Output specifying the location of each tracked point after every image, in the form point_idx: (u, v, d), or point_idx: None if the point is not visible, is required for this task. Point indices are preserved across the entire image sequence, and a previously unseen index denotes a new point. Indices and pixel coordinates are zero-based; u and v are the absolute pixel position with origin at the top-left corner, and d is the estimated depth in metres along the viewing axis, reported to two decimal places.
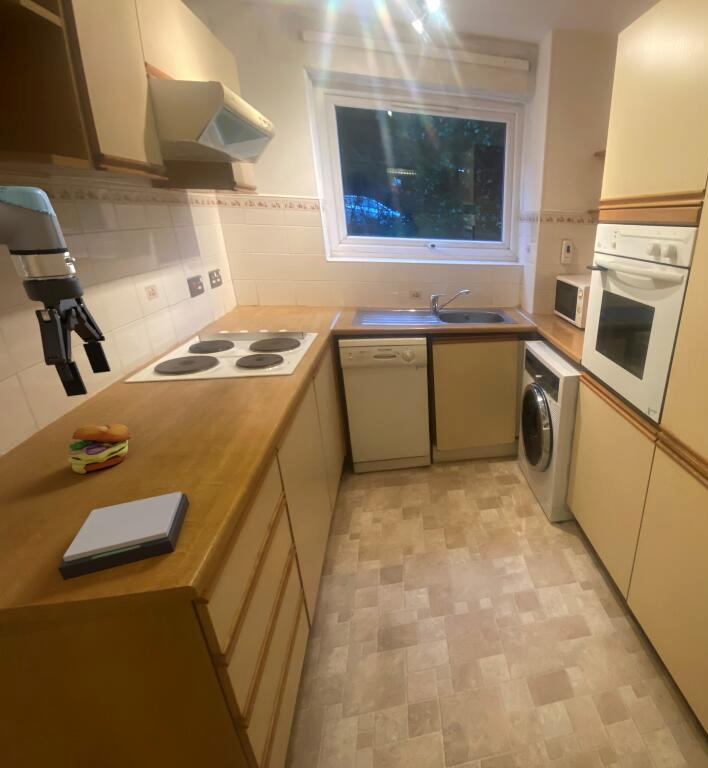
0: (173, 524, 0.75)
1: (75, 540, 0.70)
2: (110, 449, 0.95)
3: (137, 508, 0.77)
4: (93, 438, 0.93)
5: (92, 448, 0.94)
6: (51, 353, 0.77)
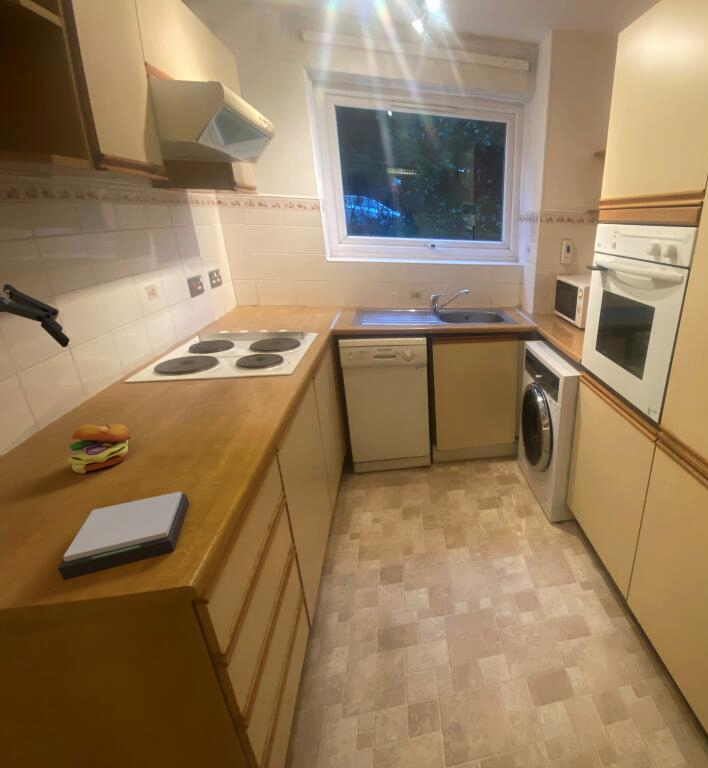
0: (173, 524, 0.75)
1: (75, 540, 0.70)
2: (110, 449, 0.95)
3: (137, 508, 0.77)
4: (93, 438, 0.93)
5: (92, 448, 0.94)
6: None
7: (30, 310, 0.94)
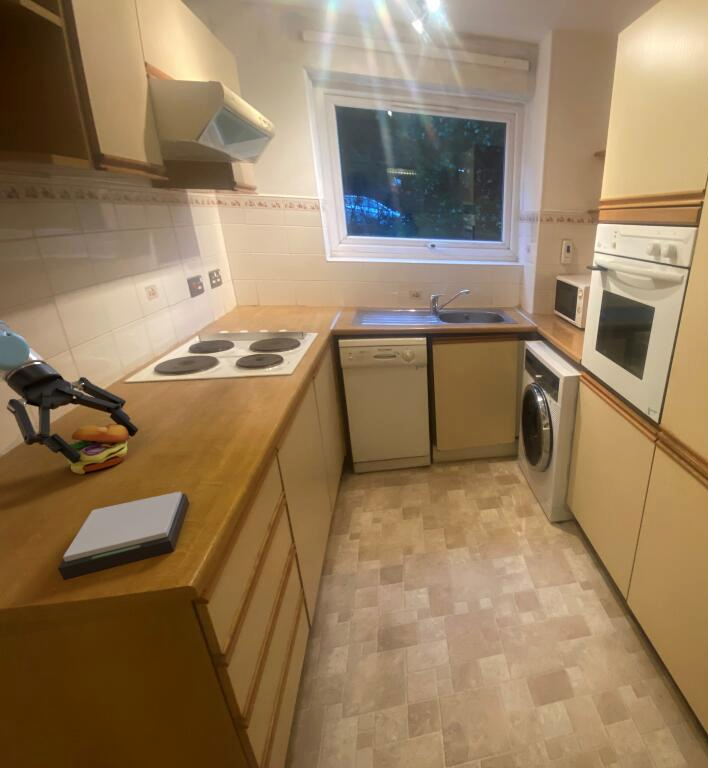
0: (173, 524, 0.75)
1: (75, 540, 0.70)
2: (109, 450, 0.94)
3: (137, 508, 0.77)
4: (92, 439, 0.92)
5: (91, 449, 0.94)
6: None
7: (102, 403, 0.98)
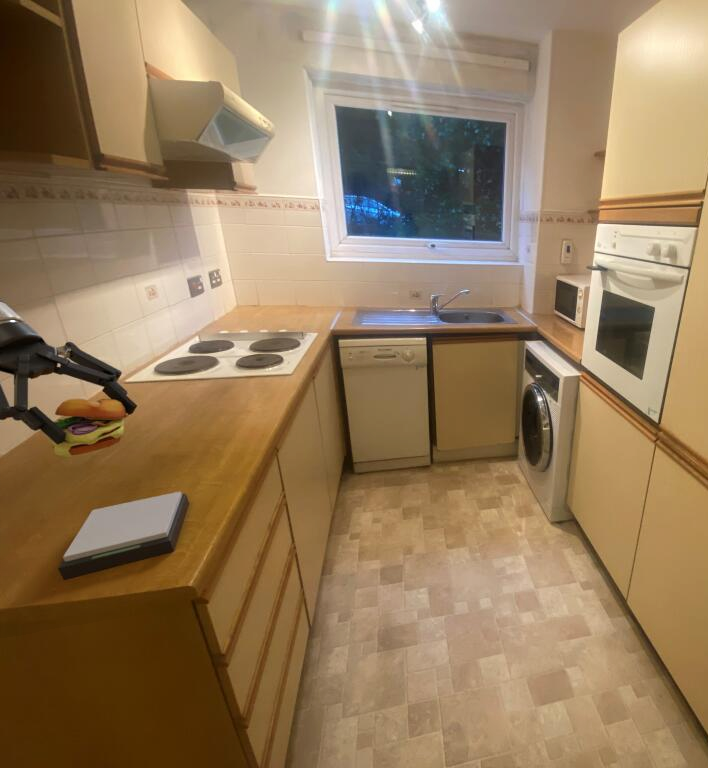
0: (173, 524, 0.75)
1: (75, 540, 0.70)
2: (102, 429, 0.77)
3: (137, 508, 0.77)
4: (81, 414, 0.75)
5: (80, 427, 0.76)
6: None
7: (93, 373, 0.81)
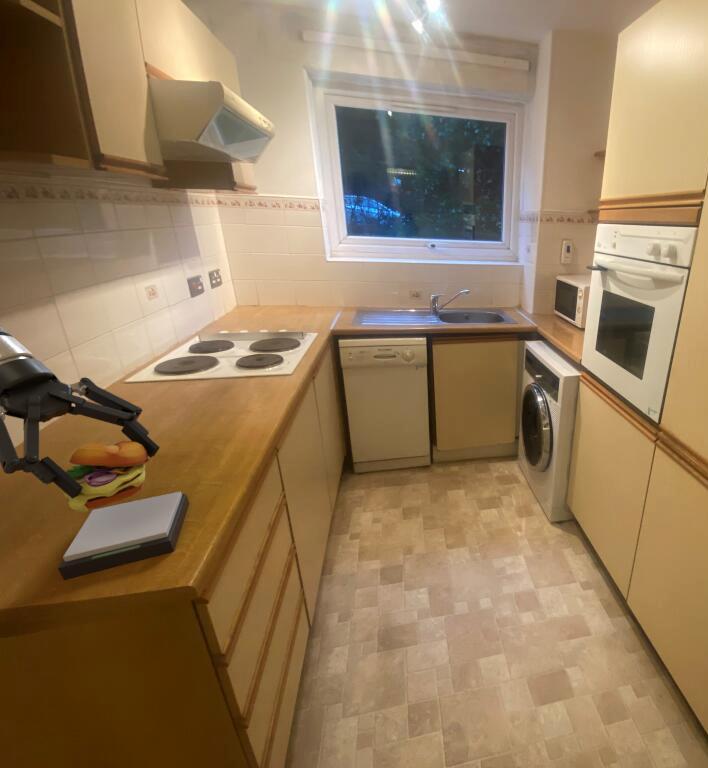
0: (173, 524, 0.75)
1: (75, 540, 0.70)
2: (121, 477, 0.69)
3: (137, 508, 0.77)
4: (98, 463, 0.66)
5: (97, 476, 0.68)
6: None
7: (111, 413, 0.73)
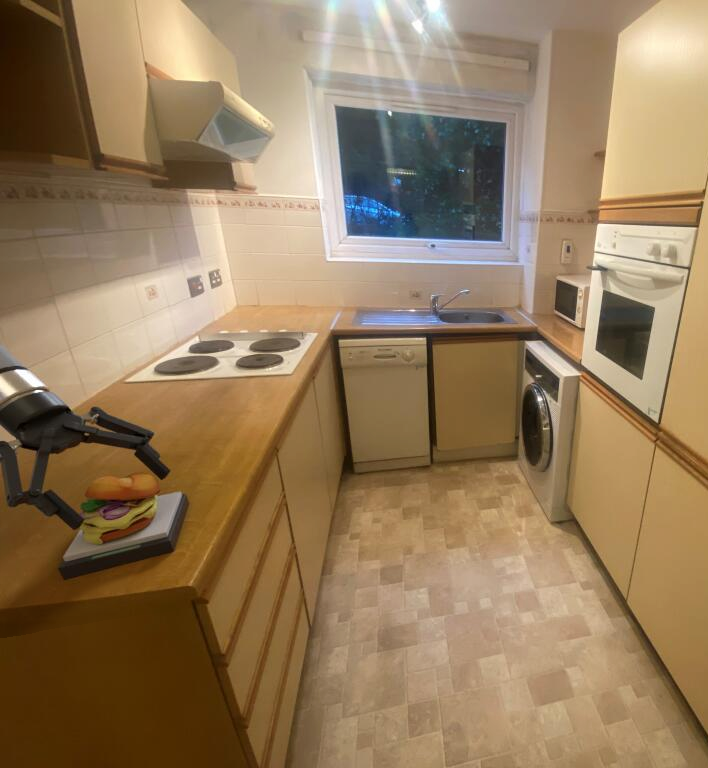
0: (173, 524, 0.75)
1: (75, 540, 0.70)
2: (135, 510, 0.71)
3: None
4: (112, 497, 0.69)
5: (111, 509, 0.70)
6: None
7: (124, 439, 0.75)
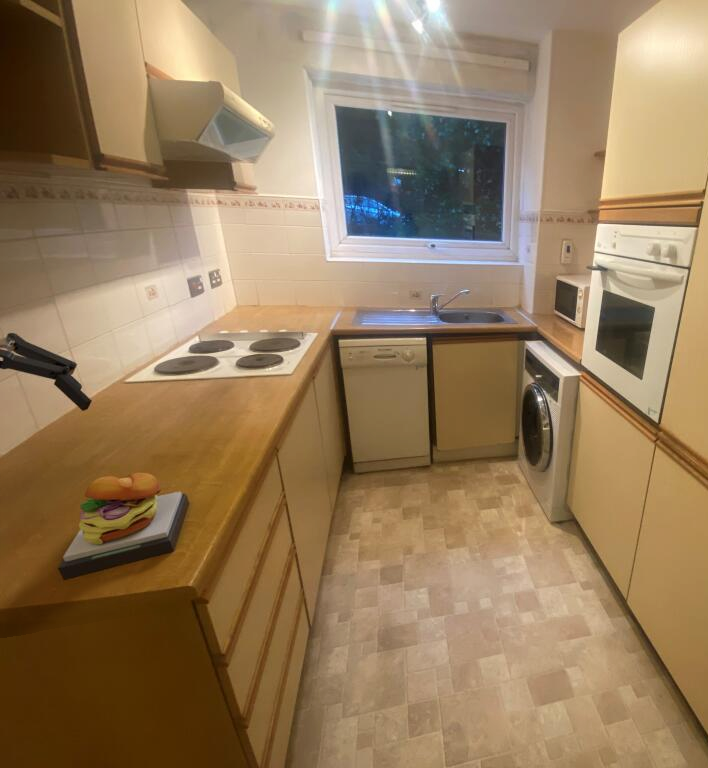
0: (173, 524, 0.75)
1: (75, 540, 0.70)
2: (135, 510, 0.71)
3: None
4: (112, 497, 0.69)
5: (111, 509, 0.70)
6: None
7: (42, 366, 0.74)
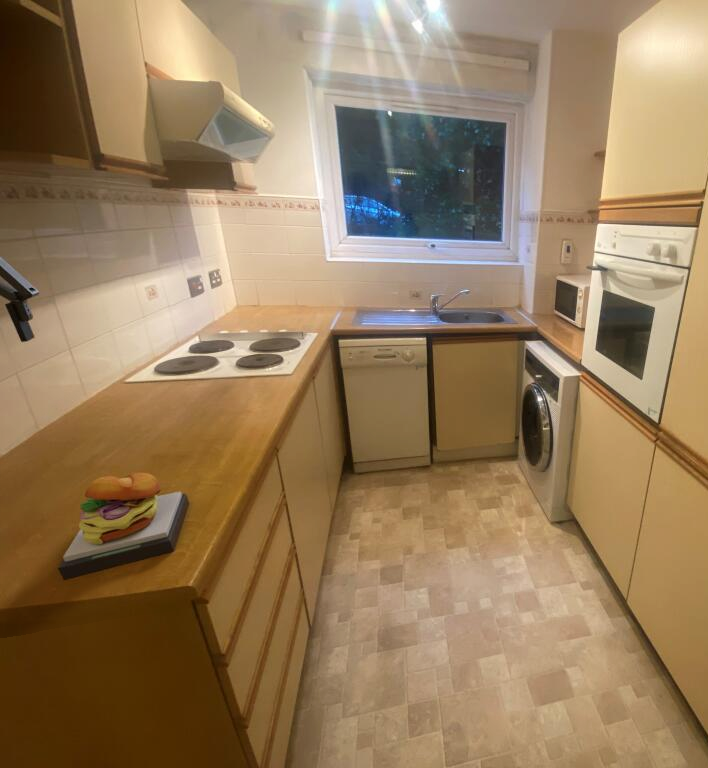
0: (173, 524, 0.75)
1: (75, 540, 0.70)
2: (135, 510, 0.71)
3: None
4: (112, 497, 0.69)
5: (111, 509, 0.70)
6: (27, 285, 0.73)
7: None
